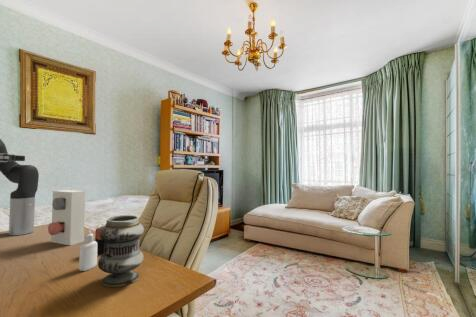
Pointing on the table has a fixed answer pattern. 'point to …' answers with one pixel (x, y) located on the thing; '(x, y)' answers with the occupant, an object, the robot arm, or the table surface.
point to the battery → (99, 241)
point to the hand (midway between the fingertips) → (23, 158)
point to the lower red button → (55, 228)
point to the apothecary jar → (121, 250)
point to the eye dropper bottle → (88, 253)
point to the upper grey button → (58, 203)
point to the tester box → (70, 217)
